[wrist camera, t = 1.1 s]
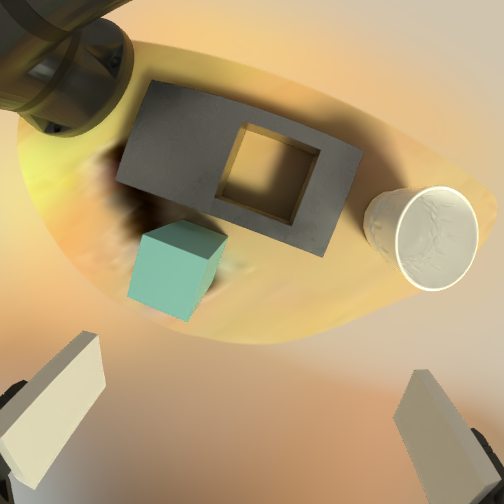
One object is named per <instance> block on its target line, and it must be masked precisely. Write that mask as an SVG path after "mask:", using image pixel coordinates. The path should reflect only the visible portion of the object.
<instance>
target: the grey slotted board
mask: <svg viewBox="0 0 504 504" xmlns="http://www.w3.org/2000/svg"><path fill="white" fill-rule="evenodd" d="M246 130H249V131H252V132H255V133H258V134H261V135H264V136H267V137H269V138H272V139H275V140H278V141H280V142H283V143H286V144H288V145H291V146H293V147H296V148H299V149H301V150H304V151H306V152H309V153H311V154H314V158H313V160H312V163H311V166H310V168H309V171H308V174H307V176H306V179H305V181H304V184H303V187H302V189H301V192H300V195H299V197H298V200H297V202H296V205H295V207H294V210H293V213H292V215H291V218H290V220H289V221H286V220H283V219H281V218H278V217H276V216H273V215H270V214H268V213H265V212H263V211H260V210H257V209H255V208H252V207H249V206H247V205H244V204H241V203H238V202H236V201H233V200H230V199H228V198H225V197H222V193H223V190H224V187H225V185H226V182H227V179H228V177H229V174H230V171H231V168H232V166H233V163H234V160H235V158H236V155H237V153H238V150H239V147H240V145H241V142H242V140H243V137H244V134H245V132H246ZM363 153H364V150H361V149H359V148H357V147H355V146H353V145H351V144H348V143H346V142H344V141H342V140H339V139H337V138H335V137H332V136H330V135H328V134H325V133H323V132H320V131H318V130H316V129H313V128H311V127H308V126H305V125H303V124H300V123H298V122H295V121H292V120H290V119H287V118H284V117H282V116H279V115H276V114H273V113H270V112H267V111H265V110H262V109H259V108H256V107H253V106H249V105H246V104H243V103H240V102H237V101H233V100H230V99H227V98H223V97H220V96H216V95H213V94H209V93H206V92H202V91H198V90H194V89H190V88H186V87H182V86H178V85H174V84H169V83H165V82H160V81H155V80H152V81H151V83H150V85H149V87H148V90H147V92H146V95H145V97H144V99H143V102H142V104H141V107H140V109H139V112H138V114H137V117H136V120H135V122H134V125H133V128H132V130H131V133H130V136H129V139H128V142H127V144H126V147H125V150H124V153H123V156H122V159H121V163H120V166H119V169H118V172H117V175H116V179H115V181H118V182H120V183H123V184H126V185H129V186H132V187H135V188H137V189H140V190H143V191H146V192H149V193H151V194H154V195H157V196H160V197H163V198H165V199H168V200H171V201H174V202H176V203H179V204H182V205H185V206H187V207H190V208H193V209H196V210H198V211H201V212H204V213H206V214H209V215H212V216H215V217H217V218H220V219H223V220H225V221H228V222H231V223H233V224H236V225H239V226H241V227H244V228H247V229H249V230H252V231H255V232H257V233H260V234H263V235H265V236H268V237H270V238H273V239H276V240H278V241H281V242H284V243H286V244H289V245H291V246H294V247H297V248H299V249H302V250H304V251H307V252H309V253H312V254H315V255H317V256H320V257H322V258H323V256H324V253H325V251H326V249H327V246H328V244H329V241H330V239H331V236H332V234H333V232H334V229H335V227H336V224H337V222H338V219H339V217H340V214H341V211H342V209H343V206H344V204H345V201H346V199H347V196H348V193H349V191H350V188H351V185H352V183H353V180H354V177H355V175H356V172H357V169H358V166H359V164H360V161H361V158H362V155H363Z"/></svg>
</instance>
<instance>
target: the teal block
mask: <svg viewBox="0 0 504 504" xmlns="http://www.w3.org/2000/svg"><path fill="white" fill-rule="evenodd" d="M227 239H228V236H225V235H223V234H220V233H217V232H215V231H212V230H209V229H207V228H204V227H201V226H199V225H196V224H193V223H191V222H188V221H185V220H183V219H181V220H179V221H176V222H173V223H171V224H168V225H165V226H163V227H160V228H158V229H155V230H153V231H150V232H147V233H145V234H143V236H142V239H141V243H140V247H139V250H138V254H137V258H136V262H135V266H134V270H133V274H132V278H131V282H130V287H129V291H128V295H127V297H130V298H132V299H134V300H136V301H139V302H141V303H143V304H145V305H148V306H150V307H152V308H155V309H157V310H159V311H162V312H164V313H166V314H169V315H171V316H174V317H176V318H178V319H181V320H183V321H186V322H188V321H189V319H190V317H191V316H192V314H193V313H194V311H195V309H196V308H197V306H198V304H199V303H200V301H201V299H202V298H203V296H204V294H205V293H206V291H207V290H208V288H209V286H210V285H211V283H212V281H213V278H214V275H215V273H216V270H217V267H218V264H219V261H220V258H221V256H222V253H223V250H224V247H225V244H226V242H227Z"/></svg>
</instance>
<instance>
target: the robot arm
mask: <svg viewBox="0 0 504 504" xmlns="http://www.w3.org/2000/svg"><path fill="white" fill-rule="evenodd" d="M129 1H132V0H0V109H3V110H9V111H14V112H17V113H18V114H19V115H20V116H21V117H23V118H24V119H25V120H26V121H27V122H29V123H30V124H31V125H32V126H33V127H35V128H36V129H37V130H39V131H40V132H42V133H44V134H47V135H51V136H57V137H64V138H65V137H74V136H78V135H80V134H83V133H85V132H87V131H89V130H91V129H92V128H94V127H95V126H97V125H98V124H99V123H100V122H102V121H103V120H104V119H105V118H106V117H107V116H108V115H109V114H110V113H111V111H112V110H113V109H114V108H115V106H116V105H117V104H118V102H119V101H120V99H121V98H122V96H123V94H124V92H125V90H126V88H127V86H128V84H129V81H130V78H131V75H132V71H133V65H134V51H133V46H132V43H131V40H130V39H129V37H128V35H127V34H126V33H125V32H124V31H123V30H122V29H120V27H119V26H117V25H116V24H115V23H113V22H112V21H109V20H107V19H104V18H100V17H102V16H104V15H106V14H107V13H109V12H111V11H113V10H114V9H116V8H118V7H120V6H122V5H124V4H126V3H128V2H129ZM105 387H106V383H105V377H104V372H103V366H102V359H101V352H100V345H99V337H98V334H94V333H90V332H87V331H82V332H81V333H80V334H79V335H78V336H77V337H76V338H75V339H73V340H72V341H71V342H70V343H69V344H68V345H67V346H66V347H65V348H64V349H63V350H61V352H60V353H58V354H57V355H56V356H55V357H54V358H53V359H52V360H51V361H50V362H49V363H48V364H47V365H46V366H44V367H43V368H42V369H41V370H40V371H39V372H38V373H37V374H36V375H35V376H34V377H33V378H32V379H31V380H30V381H29V382H27V381H25V380H22V381H20V382H18V383H16V384H14V385H12V386H11V387H10V388H9V389H8V390H7V391H6V392H5V393H4V395H3V394H2V395H1V396H0V504H15V503H14V499H13V494H12V488H11V482H10V479H9V477H8V474H9V473H10V471H12V473H13V474H14V475H15V477H16V478H17V480H19V481H20V482H22V483H23V484H25V485H27V486H29V487H30V488H32V489H34V490H35V488H36V487H37V485H38V484H39V482H40V481H41V479H42V478H43V476H44V475H45V473H46V471H47V470H48V468H49V467H50V466H51V464H52V462H53V461H54V460H55V458H56V457H57V455H58V453H59V452H60V450H61V449H62V448H63V446H64V445H65V443H66V442H67V440H68V439H69V437H70V436H71V434H72V433H73V432H74V430H75V429H76V427H77V426H78V424H79V423H80V422H81V420H82V419H83V417H84V416H85V414H86V413H87V411H88V410H89V408H90V407H91V406H92V405H93V403H94V402H95V400H96V399H97V398H98V396H99V394H100V393H101V392H102V391H103V389H104V388H105ZM393 419H394V421H395V423H396V425H397V428H398V430H399V432H400V435H401V437H402V439H403V441H404V443H405V446H406V448H407V450H408V453H409V455H410V458H411V460H412V462H413V465H414V467H415V469H416V472H417V474H418V477H419V479H420V482H421V484H422V486H423V489H424V492H425V494H426V497H427V499H428V502H429V504H504V467H503V465H502V464H501V462H500V461H499V459H498V457H497V456H496V454H495V453H493V450H492V448H491V447H490V446H488V442H487V441H486V439H485V438H484V436H483V435H482V434H481V433H480V432H478V431H477V430H476V429H474V428H471V429H470V428H469V426H468V425H467V424H466V422H465V421H464V419H463V418H462V416H461V415H460V413H459V412H458V410H457V409H456V407H455V406H454V405H453V403H452V402H451V400H450V399H449V398H448V396H447V395H446V393H445V392H444V391H443V389H442V388H441V386H440V385H439V383H438V382H437V381H436V380H435V378H434V377H433V375H432V374H431V372H430V371H429V370H414V371H413V374H412V376H411V379H410V381H409V383H408V386H407V388H406V390H405V393H404V395H403V397H402V399H401V401H400V404H399V406H398V408H397V410H396V412H395V414H394V416H393Z"/></svg>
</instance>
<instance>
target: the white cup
mask: <svg viewBox="0 0 504 504" xmlns="http://www.w3.org/2000/svg"><path fill="white" fill-rule="evenodd" d="M363 229H364V232H365V235H366V239H367V241H368V243H369V244H370V245H371V246H372V247H373V248H374V249H375V251H376V252H378V254H379V255H380V256H381V257H382V258H383V259H384V260H385V261H386V262H388V263H389V264H390V265H391V266H392V267H393V268H394V269H396V270H397V271H398V272H399V273H400V274H402V275H403V276H404V277H405V278H406V279H407V280H408V281H409V282H410V283H412V284H413V285H414V286H416V287H418V288H420V289H423V290H428V291H438V290H442V289H445V288H448V287H450V286H452V285H453V284H455V283H456V282H457V281H458V280H460V279H461V278H462V276H463V275H464V274H465V273H466V272H467V270H468V269H469V267H470V265H471V264H472V261H473V259H474V257H475V254H476V250H477V245H478V223H477V219H476V215H475V213H474V210H473V208H472V206H471V204H470V203H469V201H468V200H467V199H466V198H465V197H464V196H463V195H462V194H461V193H460V192H458V191H457V190H455V189H453V188H451V187H448V186H441V185H437V186H424V187H410V188H402V189H397V190H394V191H385V192H383V193H381V194H380V195H378V196H377V197H375V198H374V199H372V201H371V203H370V204H369V206H368V208H367V209H366V211H365V215H364V223H363Z"/></svg>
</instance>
